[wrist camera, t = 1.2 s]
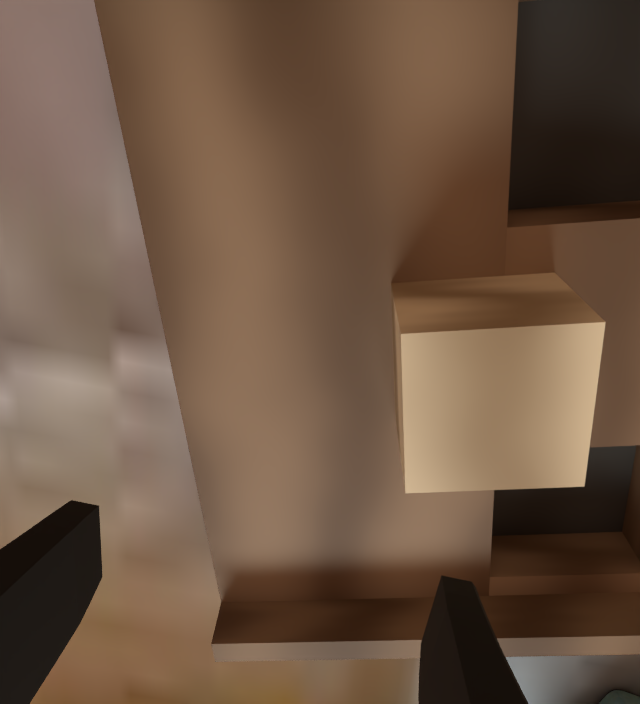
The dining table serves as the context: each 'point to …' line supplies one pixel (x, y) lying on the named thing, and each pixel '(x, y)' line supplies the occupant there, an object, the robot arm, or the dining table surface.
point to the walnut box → (383, 297)
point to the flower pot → (620, 698)
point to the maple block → (494, 382)
